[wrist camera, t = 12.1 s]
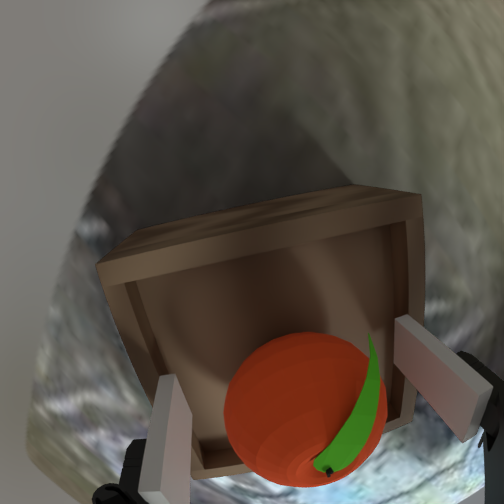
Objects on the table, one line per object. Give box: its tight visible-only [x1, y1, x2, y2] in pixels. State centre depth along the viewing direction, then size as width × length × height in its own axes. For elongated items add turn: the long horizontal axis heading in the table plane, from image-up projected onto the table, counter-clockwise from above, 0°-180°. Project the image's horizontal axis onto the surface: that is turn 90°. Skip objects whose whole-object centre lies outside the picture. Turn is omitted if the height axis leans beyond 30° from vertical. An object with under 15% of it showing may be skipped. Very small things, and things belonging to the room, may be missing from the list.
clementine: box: [223, 332, 387, 487], centre depth 12 cm, size 8×7×7 cm
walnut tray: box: [95, 184, 425, 480], centre depth 17 cm, size 14×14×8 cm
